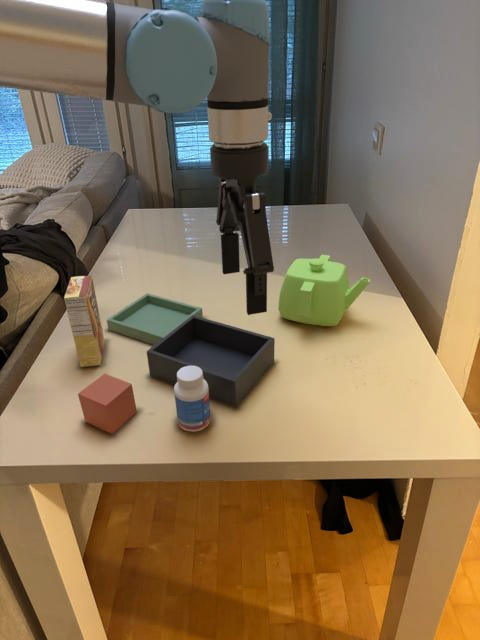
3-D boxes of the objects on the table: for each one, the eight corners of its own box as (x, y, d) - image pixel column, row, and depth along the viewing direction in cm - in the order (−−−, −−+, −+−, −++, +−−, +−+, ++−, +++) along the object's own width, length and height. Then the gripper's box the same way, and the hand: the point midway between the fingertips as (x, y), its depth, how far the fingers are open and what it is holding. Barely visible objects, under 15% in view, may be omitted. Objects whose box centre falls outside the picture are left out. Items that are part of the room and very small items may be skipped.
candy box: (85, 343, 97) (69, 276, 89) (106, 340, 97) (92, 274, 90) (80, 368, 89) (62, 298, 81) (102, 365, 90) (87, 295, 82)
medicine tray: (108, 329, 101) (106, 319, 100) (148, 302, 111) (147, 293, 110) (165, 348, 94) (164, 338, 93) (202, 318, 104) (202, 308, 103)
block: (85, 421, 77) (77, 393, 74) (110, 400, 81) (104, 373, 78) (112, 434, 74) (105, 405, 71) (137, 411, 78) (131, 383, 75)
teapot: (370, 301, 109) (377, 249, 102) (356, 347, 93) (363, 289, 86) (294, 289, 115) (296, 239, 108) (268, 331, 99) (269, 275, 92)
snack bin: (150, 375, 87) (146, 351, 84) (194, 337, 98) (192, 314, 95) (236, 407, 79) (235, 381, 76) (274, 362, 89) (274, 338, 87)
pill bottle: (212, 430, 74) (209, 382, 69) (178, 435, 74) (172, 386, 69) (209, 407, 79) (205, 360, 74) (177, 411, 78) (171, 364, 73)
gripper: (304, 160, 50) (297, 328, 61) (240, 126, 70) (243, 256, 81) (237, 166, 48) (242, 338, 59) (191, 129, 69) (201, 262, 80)
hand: (242, 290), depth 70 cm, fingers open, 13 cm apart
